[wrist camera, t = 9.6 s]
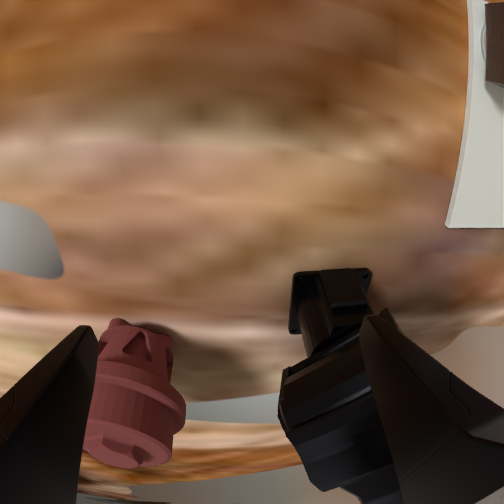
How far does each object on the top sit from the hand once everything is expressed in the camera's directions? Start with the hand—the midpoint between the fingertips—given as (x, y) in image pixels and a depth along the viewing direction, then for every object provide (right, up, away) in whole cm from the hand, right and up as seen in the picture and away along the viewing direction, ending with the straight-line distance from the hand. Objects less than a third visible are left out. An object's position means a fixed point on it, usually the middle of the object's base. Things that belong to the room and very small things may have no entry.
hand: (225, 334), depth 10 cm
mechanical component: (-10, -6, +18) cm, 21 cm away
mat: (+26, +14, +9) cm, 30 cm away
